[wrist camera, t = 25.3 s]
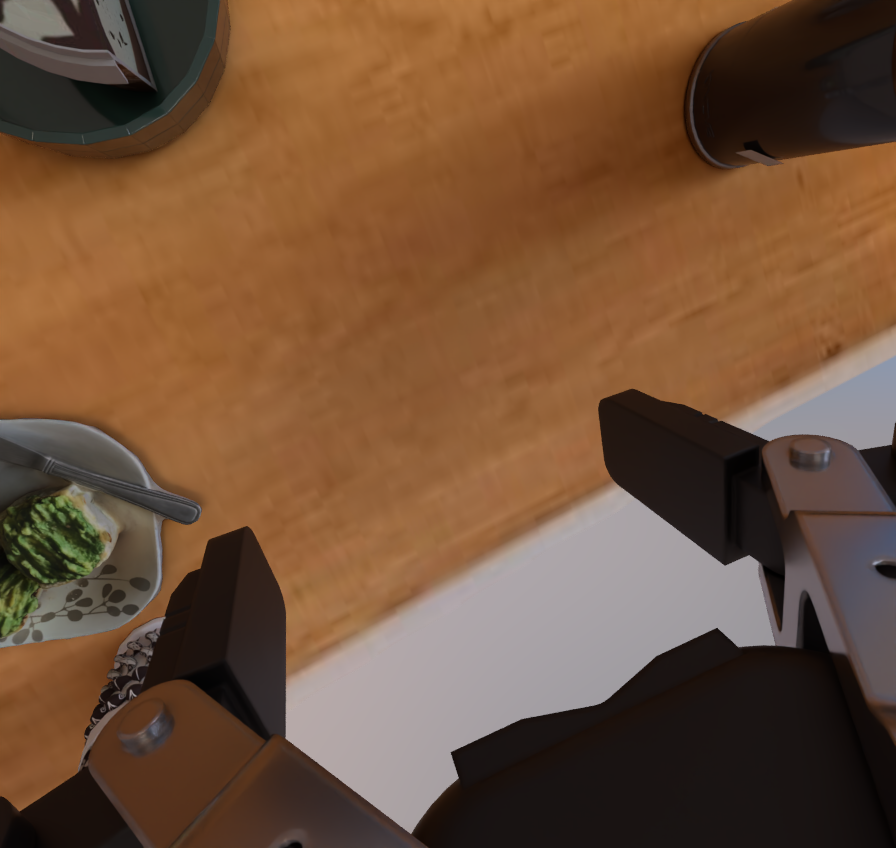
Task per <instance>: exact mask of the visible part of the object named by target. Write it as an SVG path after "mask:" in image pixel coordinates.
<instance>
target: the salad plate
mask: <svg viewBox="0 0 896 848" xmlns="http://www.w3.org/2000/svg"><path fill="white" fill-rule="evenodd" d="M201 512H202V509H201V507H200V505H199V504H198V503H196V502H194V501H193V500H190V499H187V498H185V497H182V496H179V495H176V494H173V493H171V492H168V491H165V490H163V489H162V488H160V487H159V486H158V485H157V484H156V483H155V482H154V481H153V480H152V478H151V477H150V475H149V474H148V473H147V471H146V469H145V467H144V466H143V464H142V463H141V461H140V460H139V458H138V457H137V456H136V455H135V454H134V453H132V452H131V451H129V450H128V449H127V448H125V447H124V446H123V445H121V444H120V443H119V442H117V441H116V440H114V439H113V438H111V437H110V436H108V435H107V434H105V433H104V432H103V431H101V430H100V429H99V428H97V427H93V426H88V425H84V424H81V423H78V422H74V421H65V420H55V419H39V418H21V419H12V420H8V419H0V648H3V647H9V646H17V645H22V644H28V643H36V642H44V641H48V640H56V639H71V638H73V637H79V636H85V635H91V634H96V633H102V632H107V631H111V630H114V629H116V628H119V627H121V626H122V625H124V624H126V623H127V622H129V621H130V620H132V619H133V618H134V617H136V616H137V615H139V613H140V612H141V611H142V610H143V609H144V608H145V607H146V606H147V605H148V604H149V603H150V602H151V601H152V600H153V599H154V598H155V597H156V596H157V595H158V593H159V592H160V590H161V584H162V579H163V578H162V544H161V537H160V532H161V525H162V521H163V520H164V519H170V520H173V521H175V522H178V523H181V524H185V525H189V524H192V523H194V522H196V521H198V519H199V517H200V515H201Z"/></svg>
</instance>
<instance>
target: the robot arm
mask: <svg viewBox="0 0 896 848" xmlns="http://www.w3.org/2000/svg"><path fill="white" fill-rule="evenodd" d="M685 115H686V124H687V129H688V133H689V136H690V139H691V142H692V144H693V146H694V148H695V150H696V151H697V152H698V154H699V155H700V156H701V157H702V158H703V159H704V160H705V161H706V162H708V163H709V164H711V165H713V166H715V167H718V168H722V169H733V168H739V167H744V166H747V165H750V164H756V163H762V164H764V165H767V166H771V165H778V164H784V163H781V162H779V161H777V160H783V159H789V158H796V157H802V156H808V155H815V154H821V153H827V152H834V151H840V150H846V149H853V148H859V147H865V146H872V145H878V144H884V143H891V142H896V0H792V1H790V2H788V3H786V4H784V5H781V6H779V7H777V8H774V9H772V10H770V11H768V12H766V13H764V14H762V15H759V16H757V17H755V18H753V19H751V20H749V21H745V22H742V23H739V24H736V25H734V26H732V27H730V28H728V29H726V30H724V31H722V32H721V33H720V34H718V35H717V36H716V37H715V38H714V39H713V40H712V41H711V42H710V43H709V44H708V45H707V46H706V48H705V49H704V50H703V52H702V53H701V55H700V56H699V58H698V60H697V62H696V64H695V66H694V69H693V71H692V74H691V77H690V80H689V84H688V88H687V94H686V103H685ZM598 411H599V420H600V429H601V437H602V446H603V454H604V461H605V465H606V468H607V470H608V472H609V474H610V476H611V477H612V479H613V480H614V481H615V482H616V483H617V484H618V485H619V486H620V487H622V488H623V489H624V490H626V491H627V492H628V493H630V494H631V495H632V496H634V497H635V498H636V499H638V500H639V501H640V502H642V503H643V504H644V505H646V506H647V507H648V508H649V509H651V510H652V511H654V512H655V513H656V514H657V515H659V516H660V517H661V518H663V519H664V520H665V521H667V522H668V523H669V524H671V525H672V526H673V527H675V528H676V529H677V530H679V531H680V532H681V533H682V534H684V535H685V536H686V537H688V538H689V539H691V540H692V541H693V542H694V543H696V544H697V545H698V546H700V547H701V548H702V549H704V550H705V551H706V552H708V553H709V554H710V555H712V556H713V557H714V558H716V559H717V560H718V561H720V562H721V563H722V564H724V565H727V564H729V563H732V562H734V561H736V560H738V559H741V558H743V557H746V556H748V555H750V556H752V557H753V558H754V559H756V560H757V561H759V570H758V571H759V578H760V582H761V586H762V591H763V595H764V599H765V603H766V607H767V611H768V615H769V620H770V624H771V628H772V632H773V636H774V641H775V645H776V646H764V645H763V646H748V647H739V648H738V647H737V646H736V645H735V644H734V643H733V642H732V641H731V640H730V639H729V638H728V637H726V636H725V635H724V634H723V633H722V632H721V631H720V630H719V629H718V628H716V629H714V630H712V631H709V632H707V633H705V634H703V635H701V636H699V637H697V638H695V639H692V640H690V641H688V642H686V643H684V644H682V645H680V646H678V647H675V648H673V649H671V650H669V651H667V652H665V653H662V654H660V655H658V656H656V657H655V658H654V659H653V660H652V661H651V662H650V663H648V664H647V665H646V666H645V667H644V668H643V669H642V670H641V671H639V672H638V673H637V674H636V675H635V676H634V677H633V678H631V679H630V680H629V681H628V682H627V683H626V684H625V685H623V686H622V687H621V688H620V689H619V690H618V691H617V692H616V693H614V694H613V695H612V696H611V697H610V698H609V699H607V700H606V701H605V702H603V703H601V704H598V705H595V706H589V707H585V708H579V709H573V710H568V711H563V712H558V713H552V714H548V715H542V716H537V717H531V718H526V719H521V720H519V721H517V722H515V723H512V724H510V725H508V726H506V727H504V728H502V729H500V730H498V731H495V732H493V733H491V734H489V735H487V736H485V737H483V738H480V739H478V740H476V741H474V742H472V743H470V744H468V745H466V746H463V747H461V748H459V749H457V750H455V751H453V752H451V755H452V758H453V761H454V764H455V767H456V770H457V774H458V777H459V779H457V780H456V781H455V782H454V783H453V784H452V785H451V786H450V787H448V788H447V789H446V790H445V791H444V792H443V793H442V794H441V796H440V797H439V798H438V799H437V800H436V801H435V802H434V803H433V804H432V805H431V806H430V808H429V809H428V810H427V812H426V813H425V814H424V816H423V817H422V819H421V820H420V821H419V823H418V824H417V826H416V827H415V829H414V830H413V832H412V834H410V833H409V832H407V831H406V830H405V829H403V828H402V827H400V826H399V825H398V824H397V823H395V822H394V821H393V820H392V819H390V818H389V817H388V816H386V815H385V814H384V813H382V812H381V811H380V810H378V809H377V808H376V807H374V806H373V805H372V804H370V803H369V802H368V801H367V800H365V799H364V798H363V797H361V796H360V795H359V794H357V793H356V792H354V791H353V790H352V789H351V788H349V787H348V786H347V785H346V784H344V783H343V782H342V781H340V780H339V779H338V778H336V777H335V776H334V775H332V774H331V773H330V772H328V771H327V770H326V769H325V768H323V767H322V766H320V765H319V764H318V763H317V762H315V761H314V760H313V759H311V758H310V757H309V756H307V755H306V754H305V753H303V752H302V751H301V750H300V749H298V748H297V747H295V746H294V745H293V744H292V743H290V742H289V741H288V740H286V739H285V737H286V735H285V734H286V721H285V720H286V719H285V718H286V717H285V716H286V610H285V604H284V600H283V596H282V593H281V590H280V587H279V585H278V583H277V581H276V578H275V576H274V574H273V572H272V570H271V568H270V566H269V564H268V562H267V560H266V558H265V556H264V553H263V551H262V549H261V547H260V545H259V543H258V541H257V539H256V537H255V535H254V533H253V531H252V530H251V529H250V528H249V527H248V526H246V527H243V528H240V529H237V530H234V531H231V532H229V533H226V534H223V535H220V536H217V537H215V538H212V539H209V541H208V543H207V546H206V550H205V554H204V558H203V562H202V565H201V569H198V570H195V571H193V572H190V573H188V574H187V575H186V576H185V578H184V579H183V580H182V582H181V583H180V584H179V585H178V587H177V588H176V589H175V591H174V592H173V593H172V594H171V597H170V600H169V604H168V607H167V610H166V613H165V617H166V618H165V619H163V622H162V625H161V628H160V632H159V633H160V636H159V637H158V638H157V641H156V644H155V647H154V650H153V653H152V656H151V660H150V663H149V666H148V669H147V672H146V675H145V678H144V681H143V684H142V688H141V691H140V694H139V695H138V696H136V697H135V698H133V699H132V700H131V701H129V702H128V703H127V704H125V705H124V706H123V707H122V708H121V709H120V710H119V711H118V712H117V713H116V714H115V715H114V716H113V717H112V718H111V719H110V720H109V721H108V722H107V724H106V725H105V726H104V727H103V729H102V730H101V732H100V733H99V735H98V736H97V738H96V740H95V742H94V744H93V746H92V748H91V751H90V754H89V760H88V766H87V767H85V768H84V769H83V770H81V771H80V772H79V773H77V774H76V775H74V776H73V777H72V778H70V779H68V780H67V781H65V782H64V783H62V784H61V785H59V786H58V787H56V788H55V789H53V790H52V791H50V792H49V793H47V794H46V795H44V796H43V797H41V798H40V799H38V800H37V801H35V802H34V803H32V804H31V805H29V806H28V807H26V808H25V809H23V810H22V811H20V812H19V811H18V810H17V809H16V808H15V807H14V806H13V805H12V804H11V803H10V802H9V801H8V800H7V799H5V798H4V797H0V848H896V423H895V428H894V434H893V441H892V445H888V446H882V447H876V448H870V449H864V450H857V449H856V448H854V447H853V446H852V445H849V444H848V443H846V442H843V441H841V440H838V439H834V438H830V437H825V436H819V435H790V436H784V437H780V438H777V439H774V440H772V441H770V442H769V441H767V440H764V439H762V438H760V437H758V436H756V435H753V434H751V433H749V432H746V431H744V430H742V429H739V428H737V427H735V426H732V425H730V424H728V423H725V422H723V421H719V422H718V420H717V419H716V418H714V417H711V416H709V415H707V414H705V415H703V414H702V412H700V411H697V410H695V409H693V408H690V407H688V406H686V405H683V404H677V403H671V402H665V401H660V400H658V399H656V398H654V397H651V396H649V395H647V394H645V393H642V392H640V391H638V390H635V389H629V390H627V391H624V392H621V393H618V394H615V395H612V396H610V397H607V398H604V399H602V400H601V401H600V403H599V407H598Z"/></svg>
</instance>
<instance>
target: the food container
mask: <svg viewBox="0 0 896 848" xmlns="http://www.w3.org/2000/svg"><path fill="white" fill-rule="evenodd" d="M0 48H1V49H3V50H5V51H6V52H8V53H10V54H11V55H13V56H15V57H17V58H18V59H20V60H23V61H25V62H27V63H30V64H32V65H34V66H36V67H39V68H41V69H43V70H45V71H48V72H51V73H54V74H58V75H61V76H65V77H68V78H72V79H75V80H80V81H87V82H94V83H101V84H107V85H110V86H113V87H117V88H120V89H124V90H130V91H137V92H158V91H157V88H156V85H155V82H154V79H153V76H152V73H151V69H150V66H149V63H148V60H147V57H146V54H145V51H144V48H143V45H142V42H141V38H140V35H139V32H138V29H137V26H136V23H135V20H134V17H133V14H132V10H131V7H130V4H129V1H128V0H0Z"/></svg>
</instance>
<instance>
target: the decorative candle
mask: <svg viewBox="0 0 896 848" xmlns="http://www.w3.org/2000/svg"><path fill="white" fill-rule="evenodd" d="M165 618H166V617H161V618H156V619H153V620H151V621H149V622H147V623H146V624H144V625H142V626H140V627H138V628H136V629H134V630H133V631H132V632H131V633H130V635H129V636H128V637H127V638H126V639H125V640H124V641H123V642H122V644H121V645H120V646H119V649H118V653H117V655H116V656H115V657H114V661H115V664H114V667H115V669H111V670H110V671H109V672H108V674H107V678H108V679H112V680H113V681H111V682H109V683H108V685H105V686H103V687H102V689H101V695H100V696H99V703H100V704H99V705H97V706H96V707H95V709H94V711H93V714H92V716H91V718H90V721H91V723H92V724H90V725H89V726H88V727H87V728H86V730H85V733H84V737H85V739H86V742H85V747H84V750H83V753H82V757H81V760H80V764H79V768H78V773H79V772H80V771H81V770H83V769H84V768H85V767H87V766H88V760H89V754H90V751H91V748H92V746H93V744H94V742H95V740H96V738H97V736H98V735H99V733H100V732H101V730H102V729H103V727H104V726H105V725H106V724H107V722H108V721H109V720H110V719H111V718H112V717H113V716H114V715H115V714H116V713H117V712H118V711H119V710H120V709H121V708H122V707H123V706H124V705H125V704H127V703H128V702H129V701H131V700H132V699H133V698H135V697H136V696H138V695H139V694H140V691H141V688H142V684H143V681H144V678H145V675H146V672H147V669H148V666H149V663H150V660H151V656H152V653H153V650H154V647H155V644H156V641H157V638H158V637H159V636H160V633H159V632H160V628H161V625H162V622H163V619H165Z"/></svg>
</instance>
